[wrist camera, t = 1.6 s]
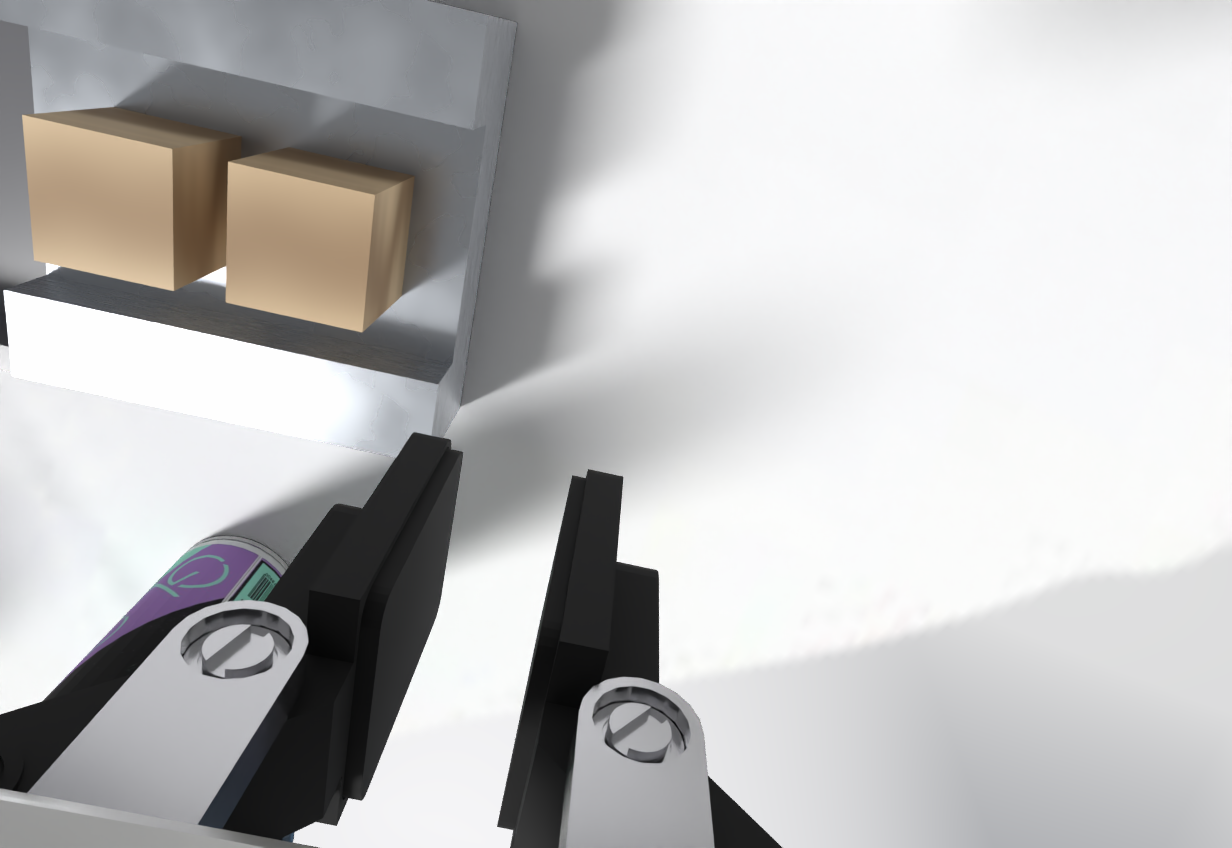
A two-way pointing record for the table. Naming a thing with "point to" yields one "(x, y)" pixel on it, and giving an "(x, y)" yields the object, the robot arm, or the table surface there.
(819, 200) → the table surface
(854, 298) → the table surface
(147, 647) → the spray can
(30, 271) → the tray
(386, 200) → the light brown cube
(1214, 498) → the table surface
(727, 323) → the table surface
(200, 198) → the tan cardboard cube
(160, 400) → the slot block
